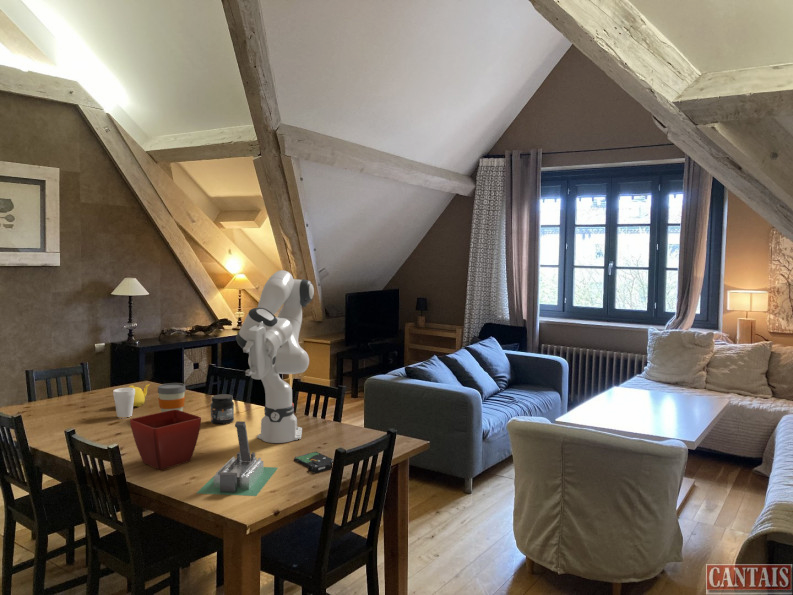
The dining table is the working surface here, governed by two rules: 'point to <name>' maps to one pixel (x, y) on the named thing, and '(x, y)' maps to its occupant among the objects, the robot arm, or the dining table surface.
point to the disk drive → (315, 462)
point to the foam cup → (124, 401)
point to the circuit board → (253, 491)
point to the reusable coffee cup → (171, 396)
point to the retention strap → (243, 441)
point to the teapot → (139, 395)
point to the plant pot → (166, 437)
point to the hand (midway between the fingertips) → (246, 362)
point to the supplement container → (222, 409)
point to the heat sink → (238, 474)
